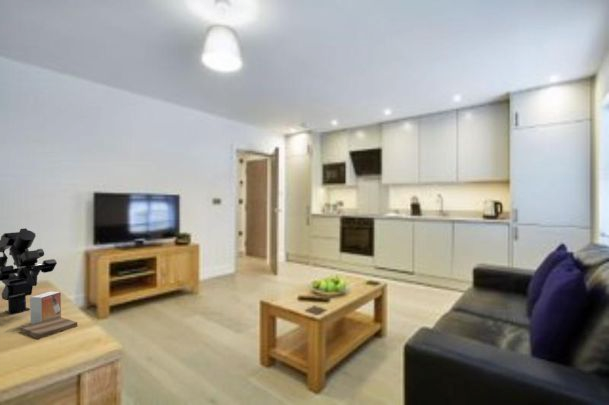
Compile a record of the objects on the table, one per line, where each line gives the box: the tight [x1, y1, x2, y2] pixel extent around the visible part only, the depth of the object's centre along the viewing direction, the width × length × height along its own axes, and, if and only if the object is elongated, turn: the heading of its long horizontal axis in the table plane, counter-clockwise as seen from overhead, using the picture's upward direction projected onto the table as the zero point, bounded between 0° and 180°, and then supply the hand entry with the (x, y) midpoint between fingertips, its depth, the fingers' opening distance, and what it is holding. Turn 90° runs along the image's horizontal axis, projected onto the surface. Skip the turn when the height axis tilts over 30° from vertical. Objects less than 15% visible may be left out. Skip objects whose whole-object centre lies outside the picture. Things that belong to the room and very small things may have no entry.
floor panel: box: [20, 316, 78, 340], centre depth 119 cm, size 14×12×2 cm
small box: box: [29, 291, 62, 325], centre depth 127 cm, size 8×6×10 cm
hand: (35, 285), depth 131 cm, fingers closed
